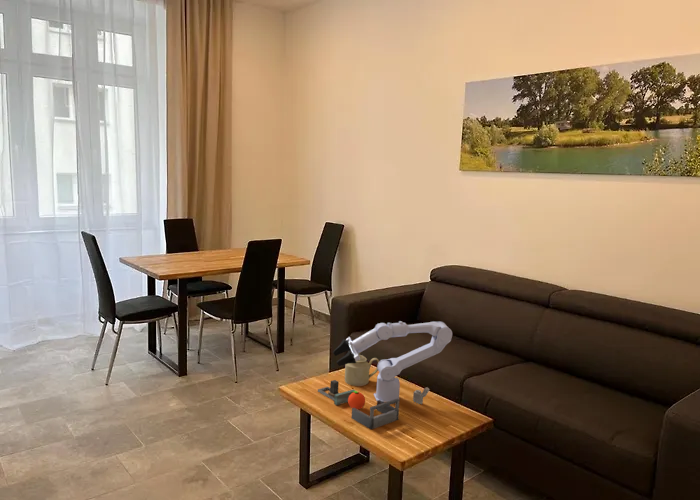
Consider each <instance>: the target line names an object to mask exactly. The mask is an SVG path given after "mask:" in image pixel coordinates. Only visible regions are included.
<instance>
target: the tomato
mask: <svg viewBox="0 0 700 500" xmlns="http://www.w3.org/2000/svg"><path fill="white" fill-rule="evenodd" d="M352 392H353V393H352ZM352 392H351V395H350V396H349V398H348V402H347V403H348V406H349V407H350V409H352V408H356V409H358V410H361V409H362V408H363V407H364V406H365V404H366V398H365V394H363V393H362V392H360V391H357V390H356V391H352Z"/></svg>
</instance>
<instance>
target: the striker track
mask: <svg viewBox="0 0 700 500" xmlns="http://www.w3.org/2000/svg"><path fill="white" fill-rule="evenodd" d="M325 391H328V392H330V386H324V387H321V388H317V392H318V393H319V392H320V393H319V394H321V395H323V396H324V397H326V398H329V399H330V400H332V401H334V398H335V397H333V396H331V395H329V394H328V392H325ZM338 393H340V392H339V391H338Z"/></svg>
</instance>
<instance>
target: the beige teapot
mask: <svg viewBox="0 0 700 500" xmlns="http://www.w3.org/2000/svg"><path fill="white" fill-rule="evenodd" d="M359 357H360V359H359V360H358V361H356V360H355V361H356V363H349V364H345V365H344V366H345V367H344V381H345V383H346V384H347V385H349V386H354V387H363V386H366V385H368V384H369V380H370V379H371V377H373V376H375V375H376V373H378V372H379V371H378V368H377V367H376V368H375V370H374V371H372V373H370V370H371V365H372V363H373V362H374V361H376V362H377V364H378V363H379V362H380V360H379V359H378V358H377V357H373V358H371V359H370V360H369V362H368V361H367V360H368V359H367V358H366V356H364V355H363V354H362V355H361V352H360V353H359Z"/></svg>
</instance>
